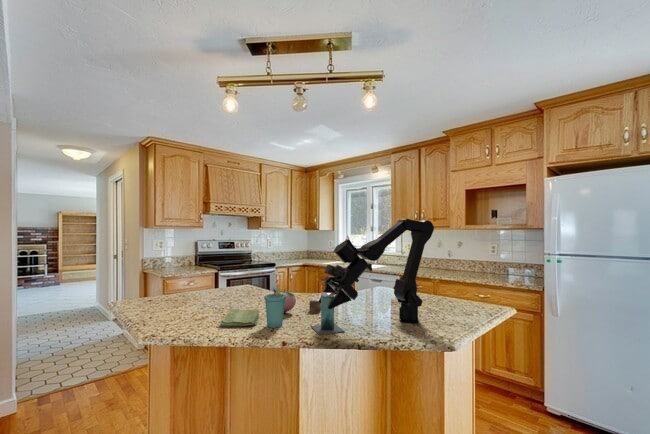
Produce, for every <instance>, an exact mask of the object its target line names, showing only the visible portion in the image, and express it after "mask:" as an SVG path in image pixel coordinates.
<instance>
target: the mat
mask: <svg viewBox="0 0 650 434" xmlns="http://www.w3.org/2000/svg"><path fill="white" fill-rule="evenodd" d="M311 327H312V328H311V329H312V330H314V331H315V332H316V333H317V334H318V335H319V336H323V335H333V334H343V333H345V330H344V329H342V328H341V327H340V326H339V325H337V324H336V323H334V329H333V330H322V329H321V324H319V325H311Z"/></svg>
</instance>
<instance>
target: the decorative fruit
mask: <svg viewBox="0 0 650 434" xmlns="http://www.w3.org/2000/svg"><path fill="white" fill-rule="evenodd" d="M280 294H283V295H285V296H286V299H285V303H284V313H283V314H286V313H288V312H289V311H291V310H292V309H293V308H294V307H295V305H296V303H297V298H296V295H295V294H294V292H292V291H286V288H284V290H280Z"/></svg>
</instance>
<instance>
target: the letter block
mask: <svg viewBox="0 0 650 434" xmlns="http://www.w3.org/2000/svg"><path fill="white" fill-rule="evenodd" d="M319 299H320V298H311V299H310V300H309V313H321V303H320V302H319Z"/></svg>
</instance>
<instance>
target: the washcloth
mask: <svg viewBox="0 0 650 434" xmlns="http://www.w3.org/2000/svg"><path fill="white" fill-rule="evenodd" d="M259 312H260V311H259V309H253V308H252V309H248V308H246V309H239V308H233V309H232V308H230V309H229V310H228V312H227V313H226V315H225V316H224V317H223V318H222V320H221V321H220V322H219V323H220V324H219V326H220V327H222V328H232V327H237V328H238V326H239V327H257V326H258V323H259V317H260V313H259Z"/></svg>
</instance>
